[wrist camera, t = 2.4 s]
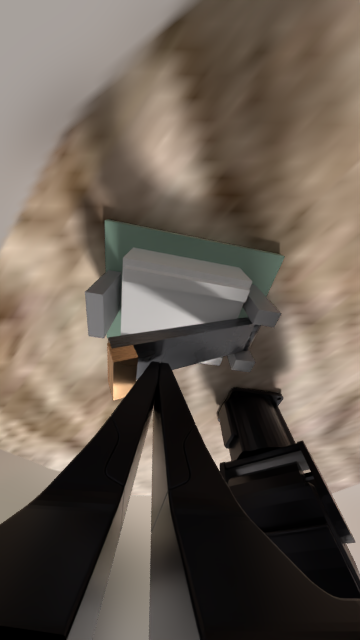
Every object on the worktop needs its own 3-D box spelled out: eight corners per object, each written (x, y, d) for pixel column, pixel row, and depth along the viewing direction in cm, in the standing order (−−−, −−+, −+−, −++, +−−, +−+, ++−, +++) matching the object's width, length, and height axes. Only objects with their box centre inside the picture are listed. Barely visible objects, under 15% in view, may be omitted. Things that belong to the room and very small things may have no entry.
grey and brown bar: (254, 315, 14) (273, 328, 12) (242, 341, 15) (259, 356, 14) (105, 336, 9) (113, 362, 7) (106, 373, 10) (113, 400, 9)
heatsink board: (280, 254, 15) (325, 277, 10) (236, 351, 20) (253, 396, 15) (108, 219, 13) (71, 227, 9) (109, 332, 19) (86, 375, 14)
